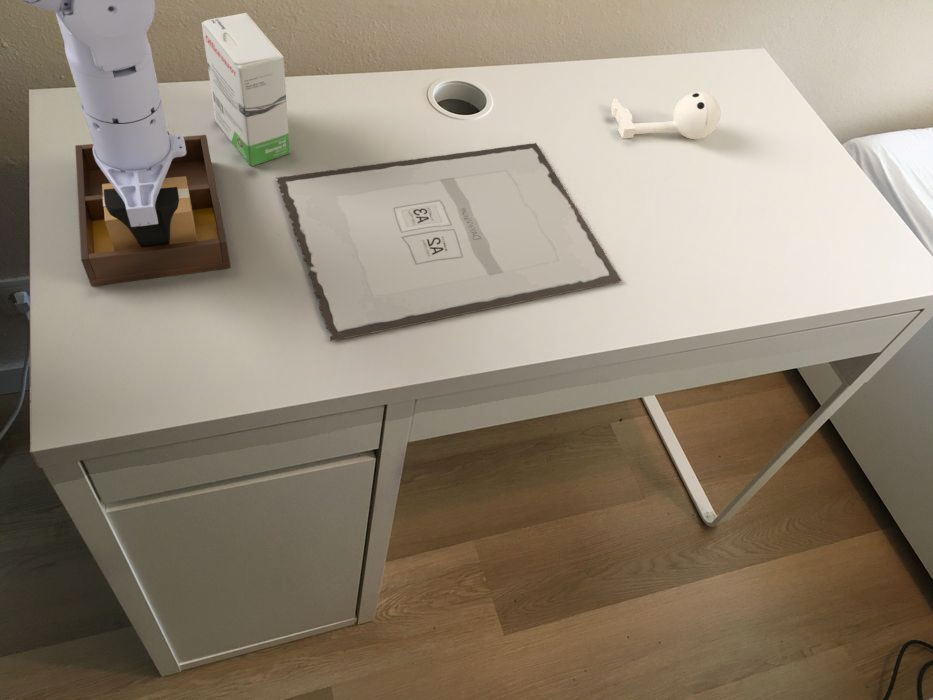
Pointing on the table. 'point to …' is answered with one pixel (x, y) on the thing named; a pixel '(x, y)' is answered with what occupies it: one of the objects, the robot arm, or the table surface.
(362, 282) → the picture frame
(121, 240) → the parcel
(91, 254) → the tray
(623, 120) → the figurine
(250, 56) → the ink box
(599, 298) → the table surface
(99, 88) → the robot arm
